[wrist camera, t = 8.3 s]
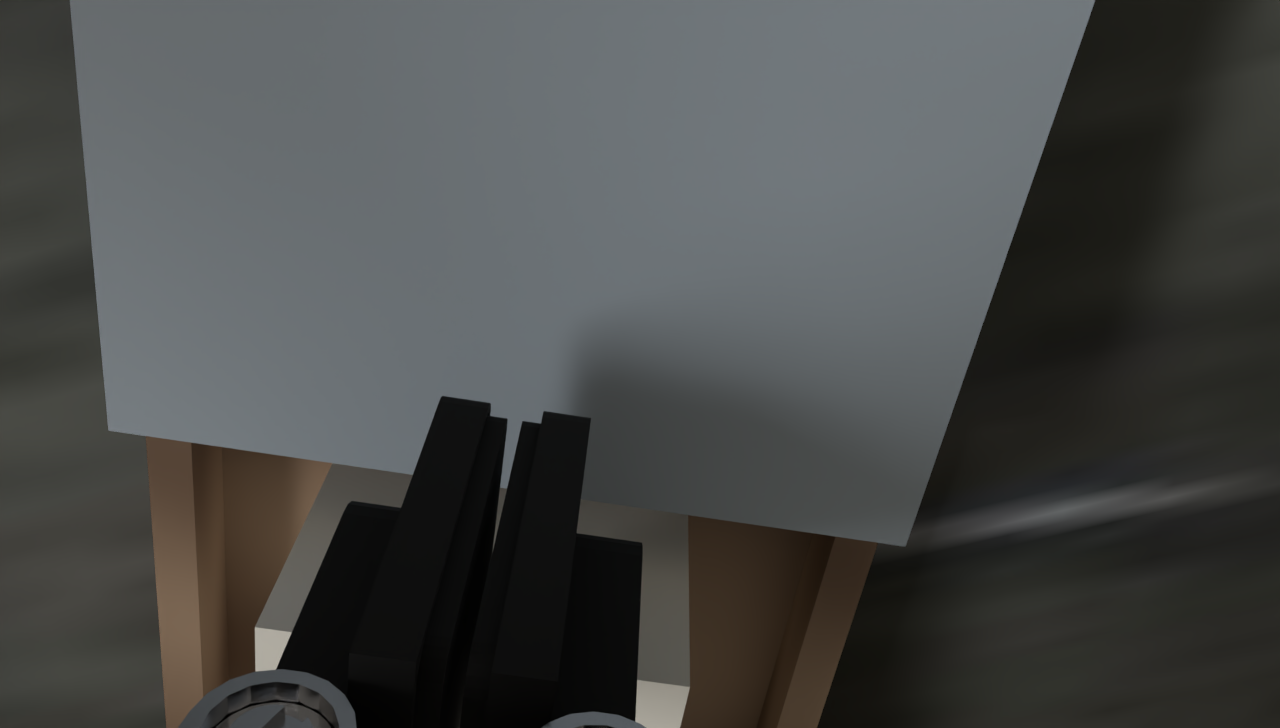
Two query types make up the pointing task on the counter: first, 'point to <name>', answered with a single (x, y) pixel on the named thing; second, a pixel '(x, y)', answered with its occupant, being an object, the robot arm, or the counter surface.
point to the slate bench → (567, 230)
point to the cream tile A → (658, 531)
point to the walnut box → (718, 588)
